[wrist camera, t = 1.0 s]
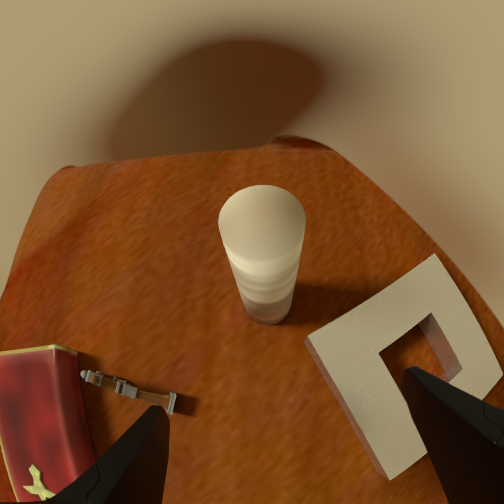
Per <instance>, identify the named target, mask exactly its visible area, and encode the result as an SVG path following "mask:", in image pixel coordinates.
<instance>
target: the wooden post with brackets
mask: <svg viewBox="0 0 504 504" xmlns="http://www.w3.org/2000/svg"><path fill="white" fill-rule="evenodd" d="M103 376H104V373H101V372H98V371H97V372H96V373H95V372H92V371H91V370H88V372H87V371H85V370H83V371H82V372H81V377H82V378H84V379H86V380H85V381H87V382H90V383H93V384H95V385H97V386H99V387H100V386H104V387H106V388H109V389H111V390H114V391H115V393H122V394H121V395H125V396H128V397H131V398H133V399H135V398H138V399H141V400H144V401H147V402H149V403H152V404H155V405H160V406H162V407H163V408H165V409H166V411H167V413H169V414H171V415H172V412H173V407H174V403H175V399H176V393H175V392H174V393H173V392H170V395H167V394H158V393H153V392H147V391H143V390H140V389H138V387H134V386H131V384H129V383H127V381H124V380H120V379H117V376H116V377H114V378H113V379H112V378H111V379H110V377H109V378H106V376H104V377H105V378H104V377H103ZM126 383H127V384H126Z"/></svg>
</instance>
